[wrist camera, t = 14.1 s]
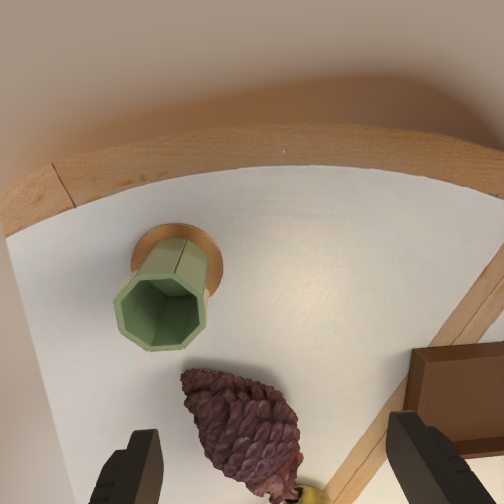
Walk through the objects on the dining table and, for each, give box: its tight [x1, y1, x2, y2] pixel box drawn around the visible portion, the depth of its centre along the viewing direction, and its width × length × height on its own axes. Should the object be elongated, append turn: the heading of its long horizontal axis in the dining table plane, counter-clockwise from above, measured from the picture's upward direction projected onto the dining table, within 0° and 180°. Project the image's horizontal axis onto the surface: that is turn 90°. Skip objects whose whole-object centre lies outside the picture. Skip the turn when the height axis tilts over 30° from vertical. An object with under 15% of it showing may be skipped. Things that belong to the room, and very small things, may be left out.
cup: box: [113, 238, 211, 352], centre depth 28 cm, size 6×6×9 cm
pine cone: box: [180, 368, 304, 504], centre depth 34 cm, size 18×10×10 cm
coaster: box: [131, 223, 223, 297], centre depth 32 cm, size 9×9×1 cm
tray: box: [403, 342, 504, 459], centre depth 40 cm, size 20×16×3 cm
